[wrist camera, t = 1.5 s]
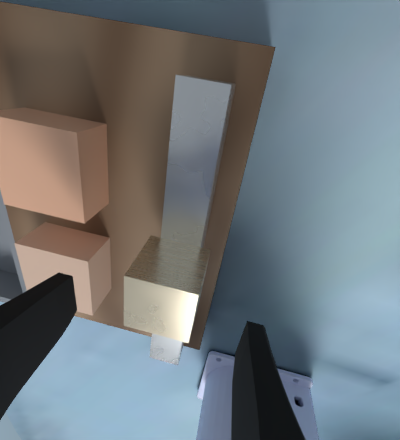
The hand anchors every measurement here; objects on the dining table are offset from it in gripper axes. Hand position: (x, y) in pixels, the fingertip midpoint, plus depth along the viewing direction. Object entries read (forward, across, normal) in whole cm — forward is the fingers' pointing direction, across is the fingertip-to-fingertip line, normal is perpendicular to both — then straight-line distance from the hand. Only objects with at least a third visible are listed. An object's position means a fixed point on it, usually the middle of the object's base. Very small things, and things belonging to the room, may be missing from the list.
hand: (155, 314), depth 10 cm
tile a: (+6, +7, -3) cm, 10 cm away
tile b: (+6, +7, +4) cm, 10 cm away
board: (+8, +5, 0) cm, 10 cm away
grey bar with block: (+6, 0, 0) cm, 6 cm away
